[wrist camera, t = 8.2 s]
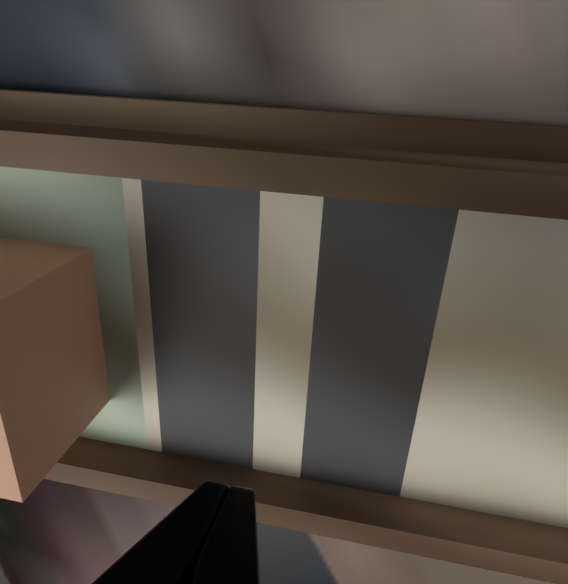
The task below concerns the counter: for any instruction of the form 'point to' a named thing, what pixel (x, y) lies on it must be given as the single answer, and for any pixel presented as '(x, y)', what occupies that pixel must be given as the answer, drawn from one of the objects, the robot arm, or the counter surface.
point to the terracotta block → (46, 358)
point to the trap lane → (318, 313)
